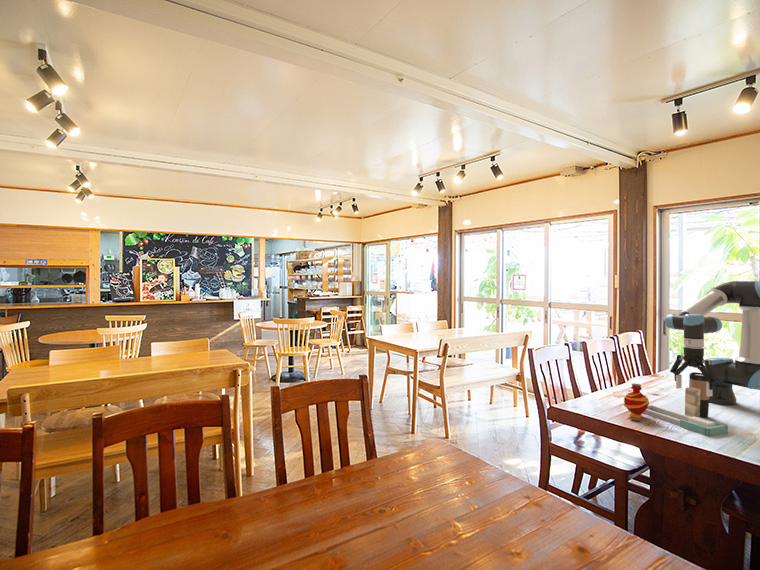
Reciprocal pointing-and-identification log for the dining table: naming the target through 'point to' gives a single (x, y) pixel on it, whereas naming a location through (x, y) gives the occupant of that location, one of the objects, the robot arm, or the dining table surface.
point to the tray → (705, 430)
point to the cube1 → (694, 420)
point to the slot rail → (667, 412)
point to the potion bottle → (636, 401)
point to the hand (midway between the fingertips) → (693, 392)
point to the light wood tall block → (692, 402)
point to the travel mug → (700, 383)
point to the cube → (705, 423)
